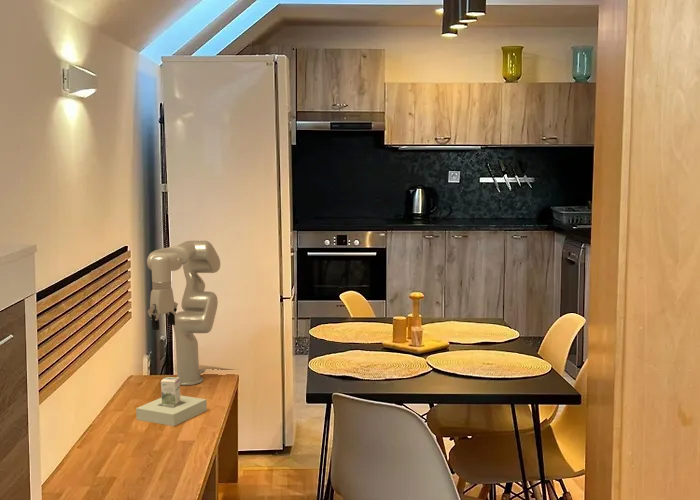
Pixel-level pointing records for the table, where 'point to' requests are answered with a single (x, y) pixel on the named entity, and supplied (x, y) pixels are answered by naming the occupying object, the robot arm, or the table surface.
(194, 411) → the socket holder
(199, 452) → the table surface
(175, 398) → the syrup box
